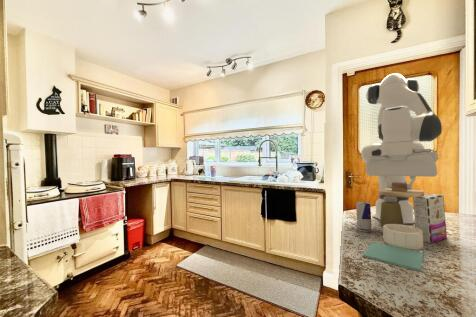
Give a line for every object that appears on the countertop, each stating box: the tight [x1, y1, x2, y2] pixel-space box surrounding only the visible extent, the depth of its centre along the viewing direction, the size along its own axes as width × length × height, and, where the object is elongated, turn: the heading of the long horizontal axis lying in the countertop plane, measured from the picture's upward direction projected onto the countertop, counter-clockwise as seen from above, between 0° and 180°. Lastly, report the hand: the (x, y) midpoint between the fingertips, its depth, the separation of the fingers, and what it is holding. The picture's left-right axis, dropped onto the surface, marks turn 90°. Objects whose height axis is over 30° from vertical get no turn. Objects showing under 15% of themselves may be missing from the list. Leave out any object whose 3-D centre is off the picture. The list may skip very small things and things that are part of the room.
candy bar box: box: [412, 193, 448, 244], centre depth 77 cm, size 11×5×16 cm, turn 114°
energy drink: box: [355, 201, 373, 233], centre depth 89 cm, size 5×5×12 cm
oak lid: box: [377, 181, 425, 198], centre depth 74 cm, size 13×13×4 cm
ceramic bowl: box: [382, 224, 425, 251], centre depth 73 cm, size 11×11×6 cm
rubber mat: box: [362, 241, 424, 272], centre depth 65 cm, size 14×14×1 cm
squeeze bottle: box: [379, 196, 405, 229], centre depth 86 cm, size 8×8×18 cm
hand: (399, 188), depth 74 cm, fingers closed on oak lid, 4 cm apart
